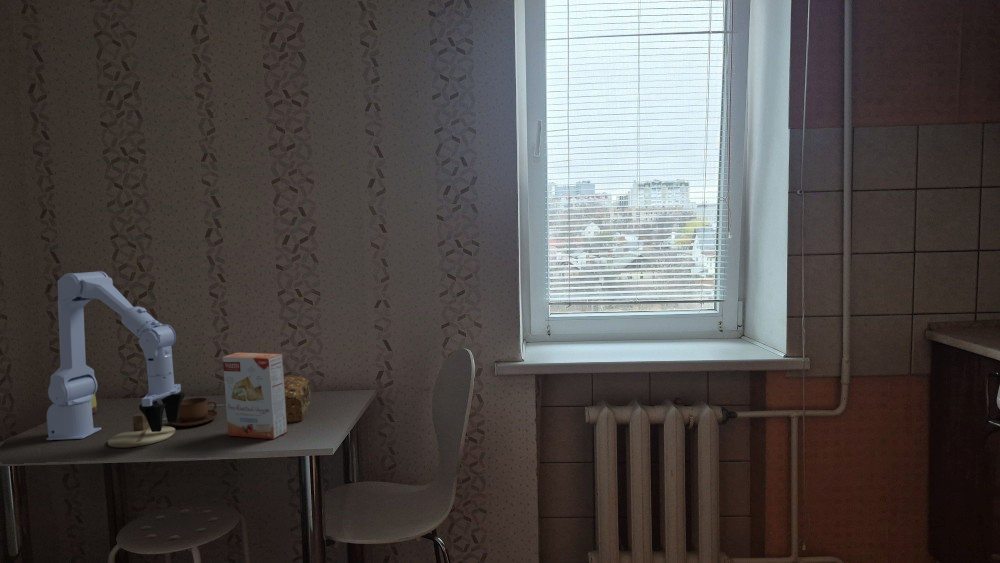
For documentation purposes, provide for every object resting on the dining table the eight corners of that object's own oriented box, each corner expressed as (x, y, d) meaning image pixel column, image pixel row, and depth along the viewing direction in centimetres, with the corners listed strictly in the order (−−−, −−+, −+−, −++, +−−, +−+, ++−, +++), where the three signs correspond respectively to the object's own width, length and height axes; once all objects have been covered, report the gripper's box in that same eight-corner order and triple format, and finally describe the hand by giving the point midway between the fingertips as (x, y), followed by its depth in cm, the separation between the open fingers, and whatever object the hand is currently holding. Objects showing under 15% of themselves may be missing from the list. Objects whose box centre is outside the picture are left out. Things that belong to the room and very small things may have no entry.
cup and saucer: (201, 414, 177) (199, 393, 176) (226, 419, 170) (225, 398, 170) (160, 426, 166) (158, 404, 166) (186, 432, 160) (184, 409, 160)
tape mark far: (211, 406, 184) (211, 405, 184) (212, 405, 185) (212, 405, 185) (227, 405, 184) (227, 405, 184) (228, 404, 185) (228, 404, 185)
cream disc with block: (114, 433, 160) (112, 416, 159) (178, 424, 166) (176, 408, 165) (101, 451, 146) (100, 432, 146) (172, 441, 152) (170, 423, 151)
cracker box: (226, 437, 154) (221, 356, 153) (243, 429, 160) (237, 351, 159) (273, 440, 150) (267, 357, 149) (288, 432, 156) (283, 352, 154)
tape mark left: (161, 420, 171) (161, 419, 171) (170, 415, 176) (170, 414, 176) (165, 420, 171) (165, 419, 171) (174, 415, 176) (174, 414, 176)
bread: (276, 407, 181) (274, 374, 180) (313, 404, 183) (311, 371, 182) (262, 426, 163) (260, 389, 162) (304, 422, 165) (301, 386, 164)
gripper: (160, 380, 145) (165, 435, 147) (190, 367, 160) (194, 417, 161) (131, 381, 145) (136, 436, 146) (163, 368, 160) (167, 418, 161)
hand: (164, 426), depth 154 cm, fingers open, 7 cm apart
